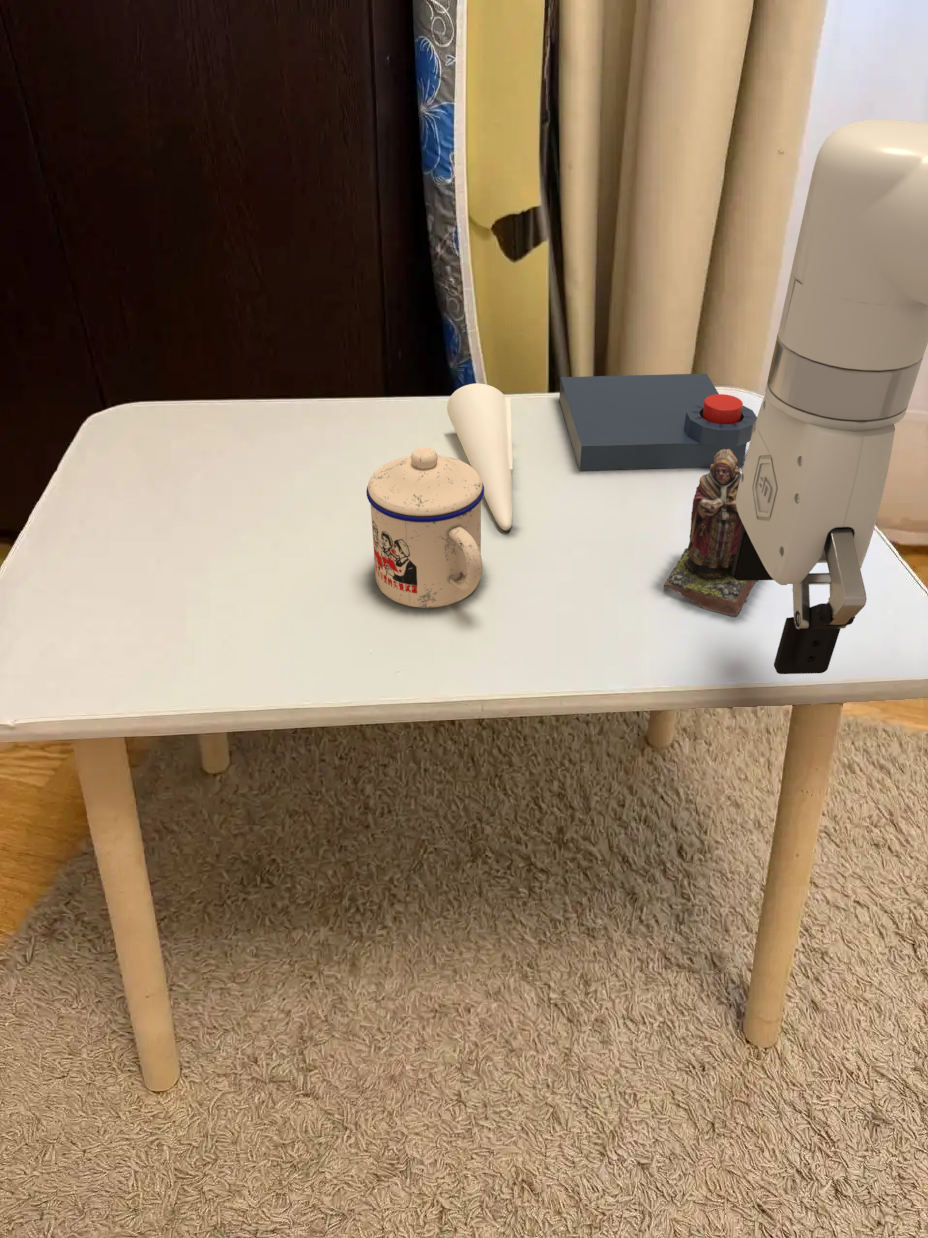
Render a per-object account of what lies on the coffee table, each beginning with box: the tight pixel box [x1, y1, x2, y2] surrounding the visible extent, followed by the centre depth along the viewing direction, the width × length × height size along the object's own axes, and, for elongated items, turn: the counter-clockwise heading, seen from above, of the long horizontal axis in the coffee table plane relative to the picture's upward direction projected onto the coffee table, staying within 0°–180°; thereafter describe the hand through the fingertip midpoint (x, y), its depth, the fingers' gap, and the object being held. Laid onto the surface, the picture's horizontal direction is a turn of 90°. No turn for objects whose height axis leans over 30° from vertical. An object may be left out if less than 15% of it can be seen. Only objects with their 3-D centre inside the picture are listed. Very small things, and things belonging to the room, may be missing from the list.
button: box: [702, 393, 744, 424], centre depth 95 cm, size 4×4×2 cm
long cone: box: [446, 383, 514, 531], centre depth 94 cm, size 6×6×19 cm
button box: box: [558, 373, 757, 472], centre depth 101 cm, size 17×17×4 cm
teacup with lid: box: [366, 447, 484, 609], centre depth 77 cm, size 12×9×12 cm
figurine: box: [663, 449, 757, 617], centre depth 77 cm, size 6×6×12 cm
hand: (775, 621), depth 65 cm, fingers open, 9 cm apart
